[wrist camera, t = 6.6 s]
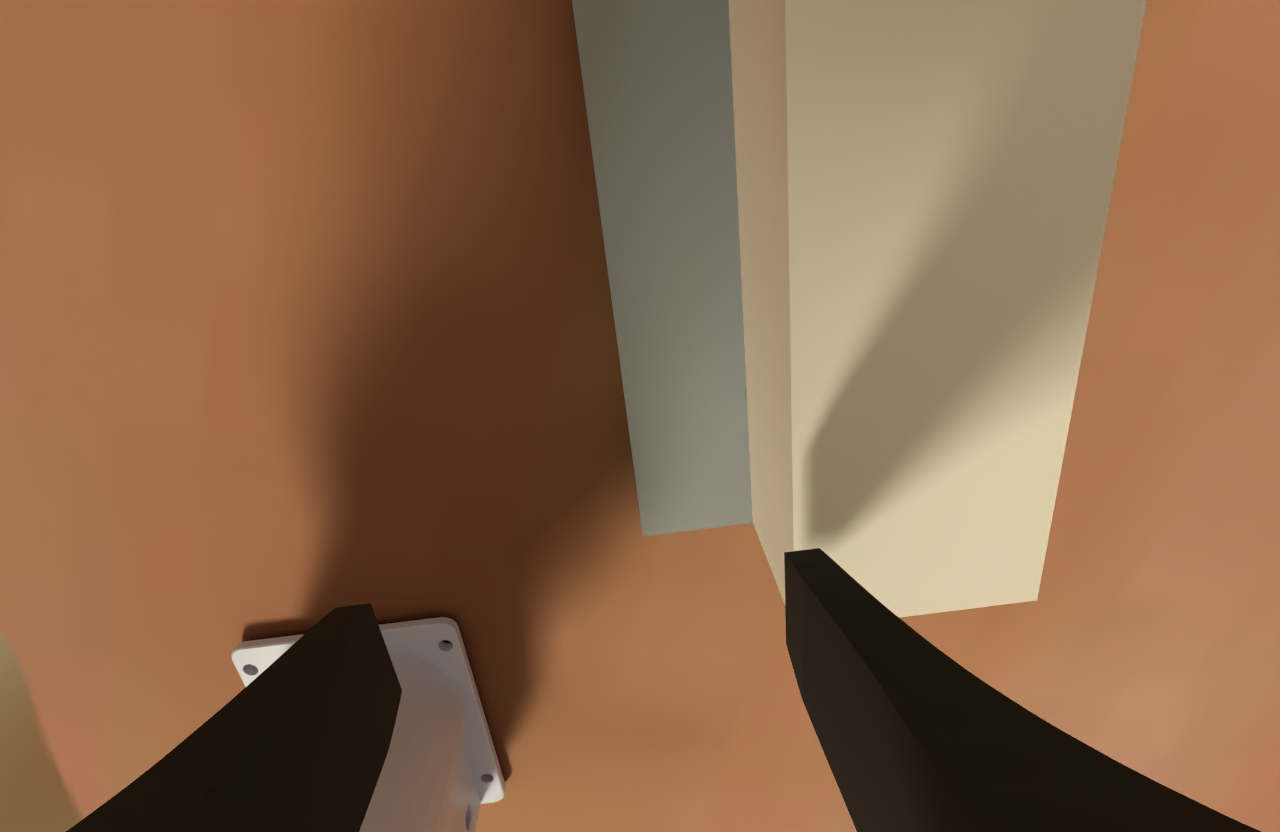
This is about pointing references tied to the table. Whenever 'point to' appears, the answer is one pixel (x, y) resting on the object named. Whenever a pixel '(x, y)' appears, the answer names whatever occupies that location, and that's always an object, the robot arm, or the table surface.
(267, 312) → the table surface
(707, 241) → the flat gray board
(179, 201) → the table surface
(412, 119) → the table surface
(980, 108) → the cream rectangular block
